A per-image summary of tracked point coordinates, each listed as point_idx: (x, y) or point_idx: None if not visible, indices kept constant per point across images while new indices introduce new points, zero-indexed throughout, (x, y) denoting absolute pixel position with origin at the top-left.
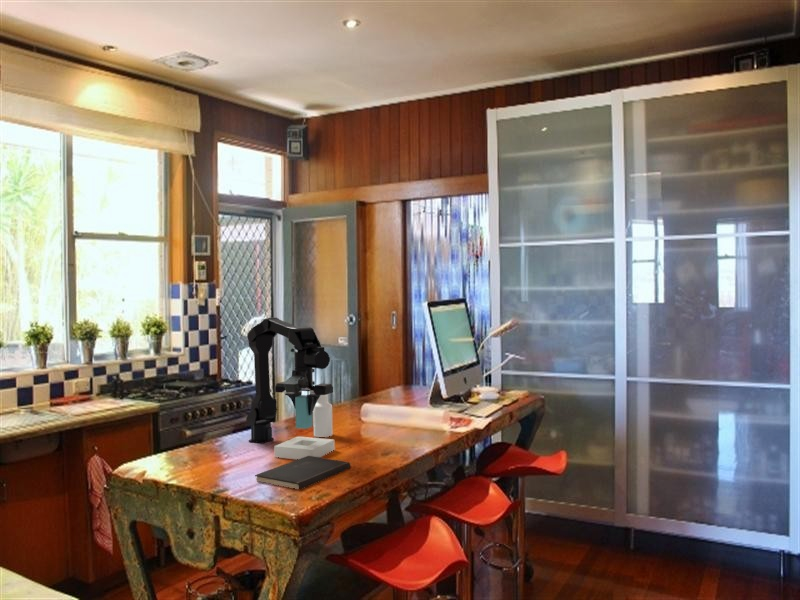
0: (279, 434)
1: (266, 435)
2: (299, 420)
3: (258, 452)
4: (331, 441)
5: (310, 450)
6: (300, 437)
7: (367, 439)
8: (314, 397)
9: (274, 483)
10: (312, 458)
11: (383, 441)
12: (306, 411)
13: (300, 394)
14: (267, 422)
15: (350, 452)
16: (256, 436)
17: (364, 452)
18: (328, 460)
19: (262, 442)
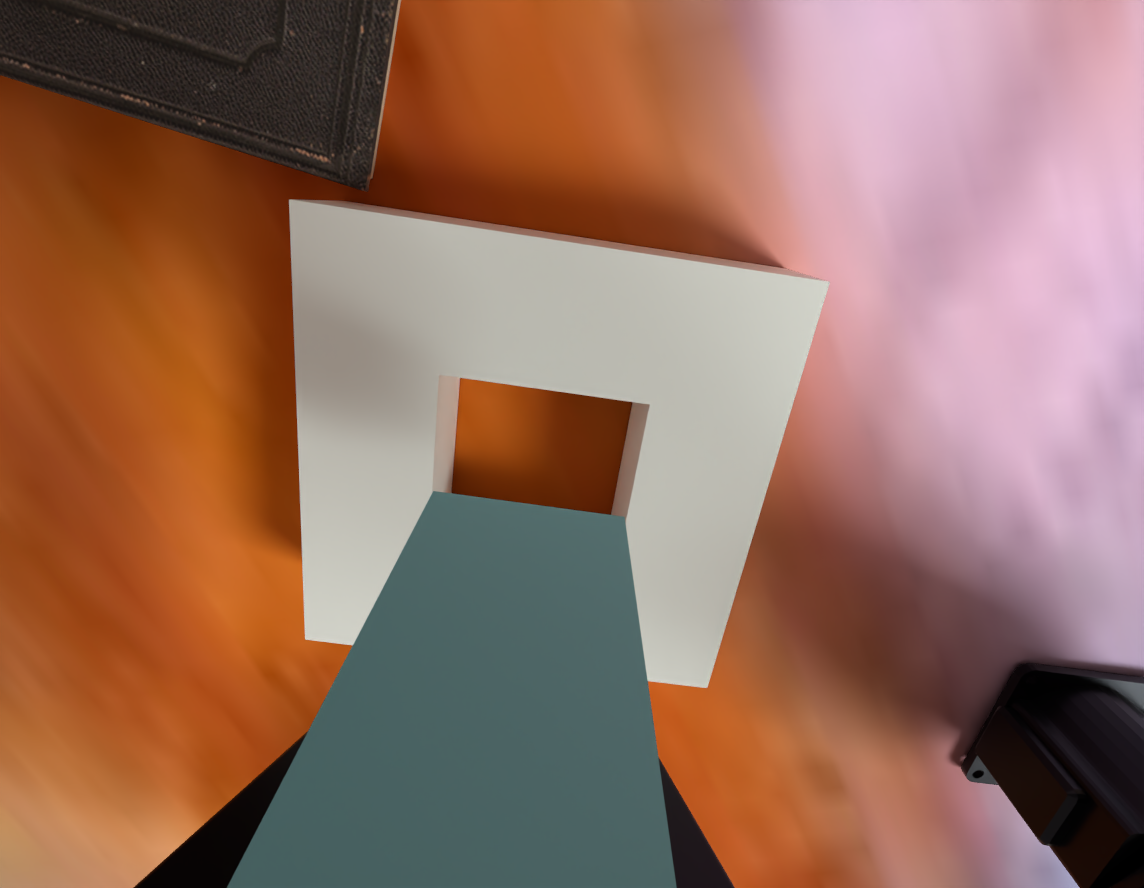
0: (948, 875)
1: (1038, 740)
2: (547, 578)
3: (996, 402)
4: (304, 587)
5: (323, 204)
6: (666, 658)
7: None
8: None
9: None
10: (251, 70)
11: (137, 826)
12: (324, 717)
13: None
14: (1125, 884)
15: (184, 544)
16: (1128, 716)
17: (77, 563)
18: (22, 19)
19: (1032, 666)
